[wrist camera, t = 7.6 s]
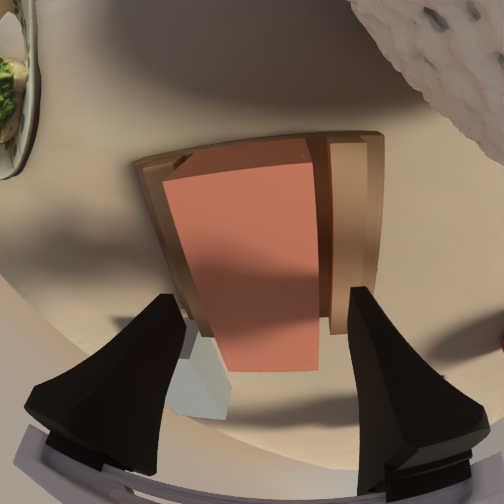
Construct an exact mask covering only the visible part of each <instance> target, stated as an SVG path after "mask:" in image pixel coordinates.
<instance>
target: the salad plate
mask: <svg viewBox="0 0 504 504" xmlns="http://www.w3.org/2000/svg"><path fill="white" fill-rule="evenodd" d="M8 11H9V12H11V13H13V14H14V15H15V16H16V17H17V19H18V21H19V22H20V24H21V27H22V33H23V35H24V48H25V62H23V63H22V62H21V61H19V60H17V59H13V58H6V57H0V180H6V179H9V178H11V177H14V176H17V175H18V174H20V172H21V171H22V170H23V168H24V166H25V164H26V161H27V159H28V157H29V154H30V152H31V149H32V146H33V143H34V140H35V136H36V131H37V127H38V120H39V106H40V95H41V75H40V69H39V66H38V56H37V20H36V10H35V0H0V19H1V18H2V17H3V16H4V15H5V13H6V12H8Z"/></svg>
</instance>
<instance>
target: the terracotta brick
mask: <svg viewBox="0 0 504 504" xmlns="http://www.w3.org/2000/svg"><path fill="white" fill-rule="evenodd" d="M303 156H304V157H303ZM162 183H163V186H164V190H165V193H166V197H167V200H168V203H169V207H170V210H171V213H172V217H173V220H174V223H175V226H176V229H177V233H178V236H179V239H180V242H181V245H182V248H183V251H184V254H185V257H186V260H187V263H188V266H189V269H190V272H191V275H192V277H193V280H194V283H195V286H196V289H197V292H198V294H199V297H200V300H201V303H202V305H203V308H204V311H205V313H206V316H207V319H208V321H209V324H210V327H211V329H212V332H213V334H214V337H215V340H216V342H217V345H218V347H219V350H220V352H221V355H222V357H223V360H224V362H225V364H226V367H227V369H228V371H233V372H293V371H316V370H318V364H319V266H318V239H317V219H316V203H315V189H314V176H313V164H312V160H311V156H310V153H309V150H308V146H307V143H306V140H305V138H298V139H287V140H276V141H267V142H259V143H251V144H243V145H236V146H229V147H223V148H217V149H211V150H205V151H199V152H195V153H194V154H193V155H192V156H191V157H189V158H188V159H187V160H186V161H185V162H184V163H183V164H181V165H180V166H179V167H178V168H177V169H176V170H175V171H174V172H172V173H171V174H170V175H169V176H168V177H167V178H166V179H165V180H164V181H163V182H162Z"/></svg>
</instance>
